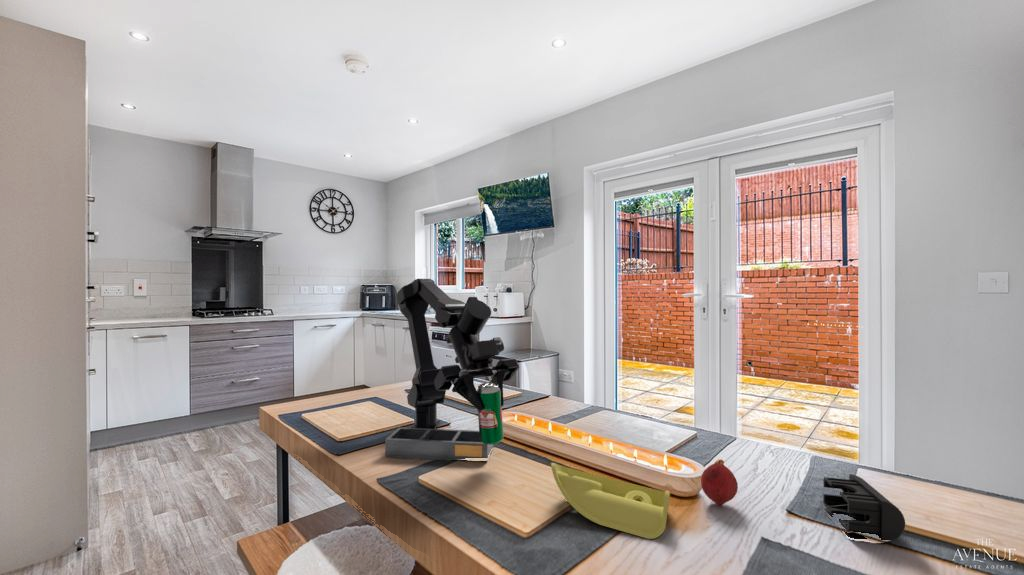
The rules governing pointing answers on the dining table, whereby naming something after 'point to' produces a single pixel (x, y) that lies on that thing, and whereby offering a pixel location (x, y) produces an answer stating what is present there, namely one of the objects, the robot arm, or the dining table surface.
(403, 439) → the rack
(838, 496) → the end cap
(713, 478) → the onion
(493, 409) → the soda can
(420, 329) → the robot arm
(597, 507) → the plastic component
